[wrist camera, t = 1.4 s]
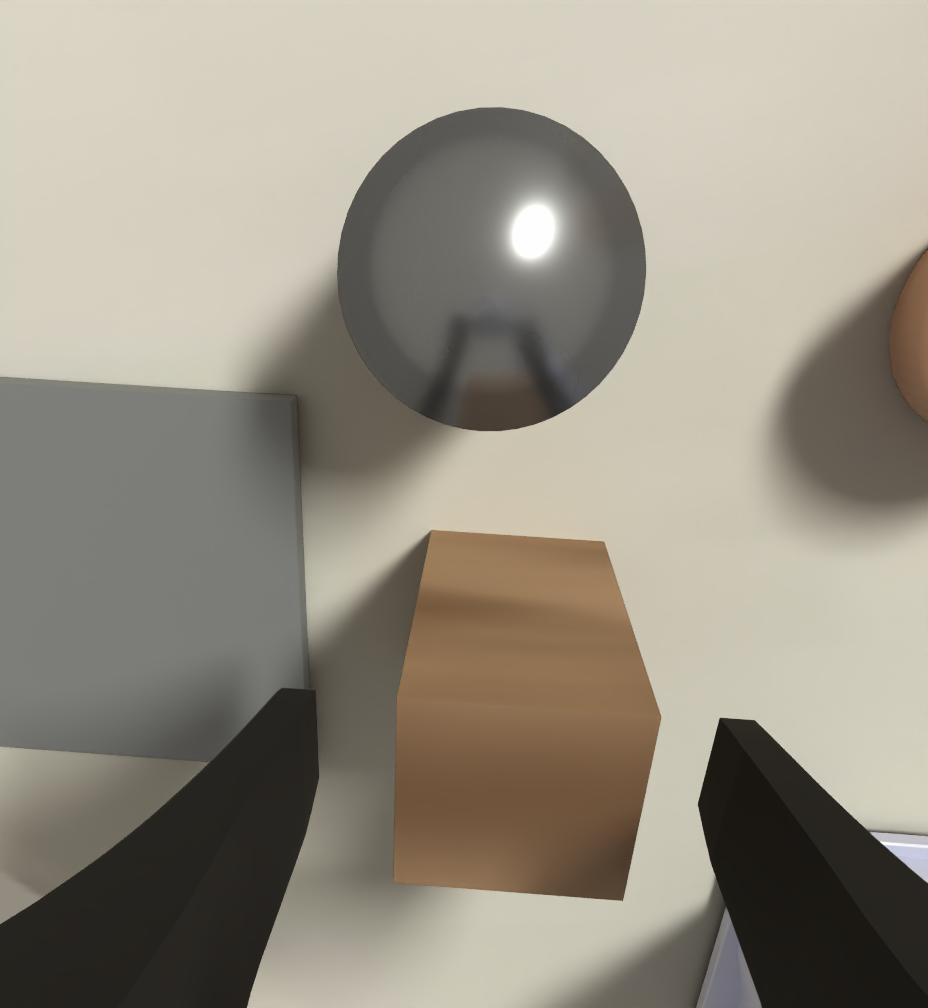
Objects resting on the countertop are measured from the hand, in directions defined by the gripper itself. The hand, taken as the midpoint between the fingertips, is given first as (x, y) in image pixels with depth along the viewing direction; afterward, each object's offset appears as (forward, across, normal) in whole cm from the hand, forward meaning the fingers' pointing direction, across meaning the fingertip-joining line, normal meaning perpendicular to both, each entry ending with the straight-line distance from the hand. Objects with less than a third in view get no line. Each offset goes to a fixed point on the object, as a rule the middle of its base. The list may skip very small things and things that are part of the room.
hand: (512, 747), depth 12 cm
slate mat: (+5, +10, 0) cm, 11 cm away
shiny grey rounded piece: (+5, +1, -8) cm, 9 cm away
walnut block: (+5, 0, 0) cm, 5 cm away
